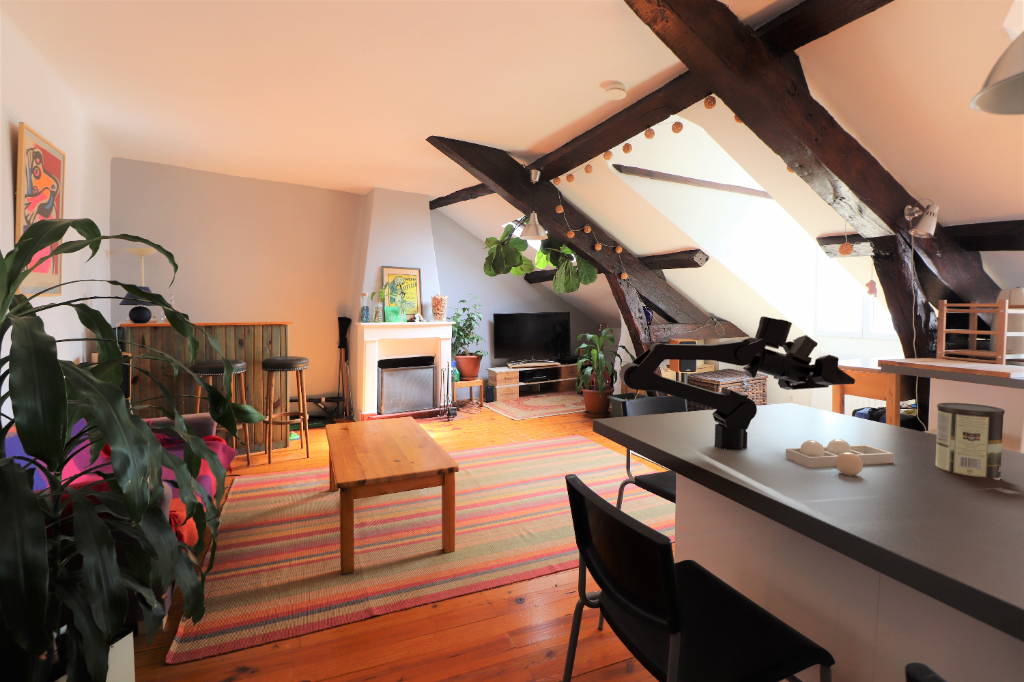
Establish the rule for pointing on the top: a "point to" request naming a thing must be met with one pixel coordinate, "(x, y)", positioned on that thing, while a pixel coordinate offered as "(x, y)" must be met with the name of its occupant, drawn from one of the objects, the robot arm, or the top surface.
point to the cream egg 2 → (838, 447)
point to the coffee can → (969, 439)
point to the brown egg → (849, 464)
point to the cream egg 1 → (812, 449)
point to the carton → (862, 451)
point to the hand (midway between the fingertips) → (840, 383)
